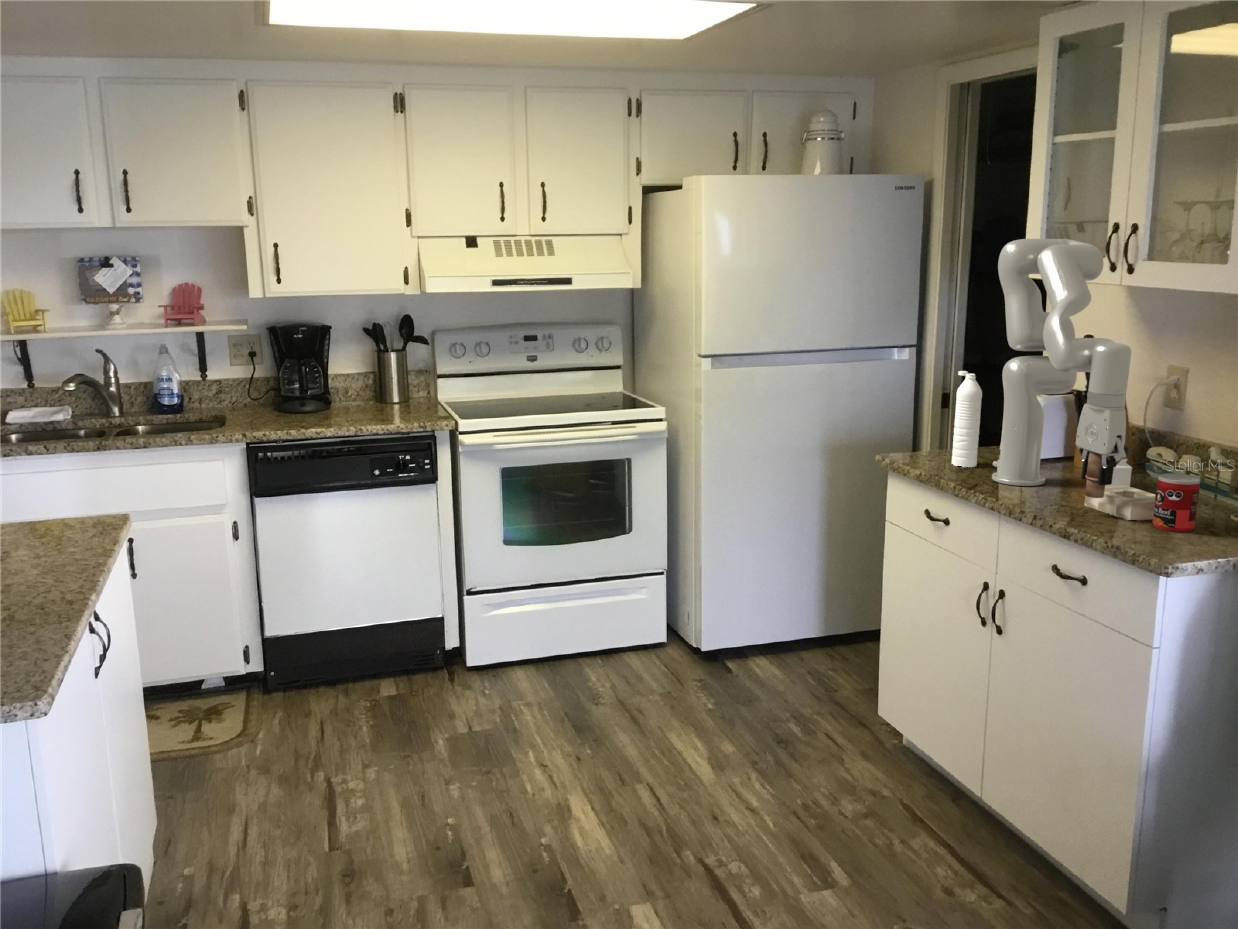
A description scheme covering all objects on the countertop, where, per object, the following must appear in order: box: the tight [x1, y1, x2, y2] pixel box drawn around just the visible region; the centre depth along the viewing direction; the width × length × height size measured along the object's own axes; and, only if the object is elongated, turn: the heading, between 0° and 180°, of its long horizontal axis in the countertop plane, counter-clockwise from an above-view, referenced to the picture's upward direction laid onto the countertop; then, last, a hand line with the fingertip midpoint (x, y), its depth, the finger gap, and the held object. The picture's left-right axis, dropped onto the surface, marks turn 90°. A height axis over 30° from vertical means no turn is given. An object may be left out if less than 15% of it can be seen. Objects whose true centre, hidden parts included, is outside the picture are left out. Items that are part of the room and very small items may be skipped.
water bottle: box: [951, 370, 983, 469], centre depth 277 cm, size 9×6×25 cm
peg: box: [1084, 451, 1110, 498], centre depth 227 cm, size 4×4×10 cm
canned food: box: [1152, 473, 1201, 533], centre depth 218 cm, size 8×8×11 cm
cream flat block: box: [1084, 485, 1156, 521], centre depth 231 cm, size 14×11×4 cm
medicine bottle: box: [1105, 443, 1133, 487], centre depth 248 cm, size 7×7×12 cm
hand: (1096, 480), depth 227 cm, fingers closed on peg, 4 cm apart
